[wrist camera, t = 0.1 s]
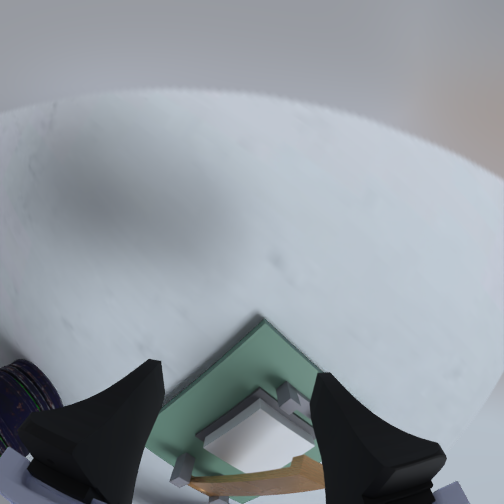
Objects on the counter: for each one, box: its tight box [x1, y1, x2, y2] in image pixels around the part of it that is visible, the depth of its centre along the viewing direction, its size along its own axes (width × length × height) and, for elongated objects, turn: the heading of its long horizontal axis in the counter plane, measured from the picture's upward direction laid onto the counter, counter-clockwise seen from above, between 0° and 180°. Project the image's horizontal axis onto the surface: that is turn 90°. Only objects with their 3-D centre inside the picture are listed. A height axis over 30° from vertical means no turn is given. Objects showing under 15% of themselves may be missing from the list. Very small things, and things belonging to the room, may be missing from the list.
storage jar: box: [0, 359, 63, 457], centre depth 15 cm, size 10×10×15 cm
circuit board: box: [145, 319, 323, 504], centre depth 20 cm, size 19×16×5 cm
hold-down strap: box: [187, 454, 325, 497], centre depth 16 cm, size 15×3×2 cm, turn 135°
